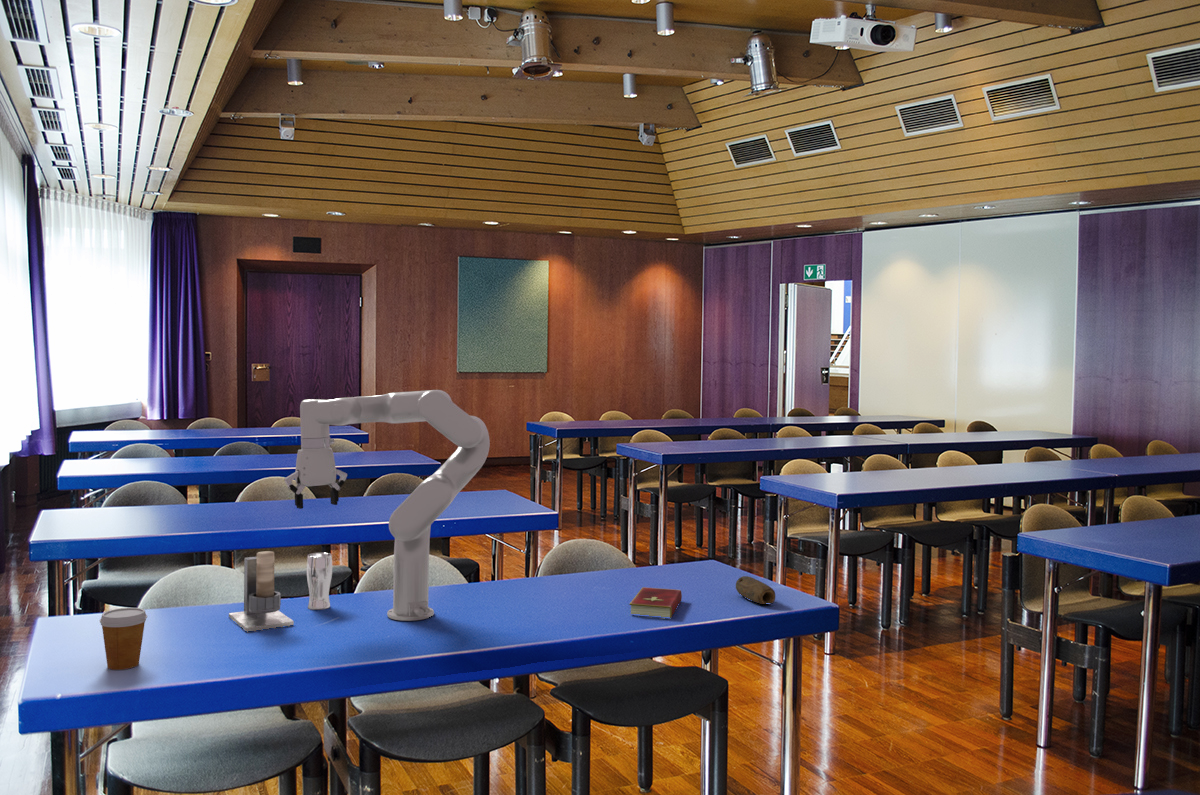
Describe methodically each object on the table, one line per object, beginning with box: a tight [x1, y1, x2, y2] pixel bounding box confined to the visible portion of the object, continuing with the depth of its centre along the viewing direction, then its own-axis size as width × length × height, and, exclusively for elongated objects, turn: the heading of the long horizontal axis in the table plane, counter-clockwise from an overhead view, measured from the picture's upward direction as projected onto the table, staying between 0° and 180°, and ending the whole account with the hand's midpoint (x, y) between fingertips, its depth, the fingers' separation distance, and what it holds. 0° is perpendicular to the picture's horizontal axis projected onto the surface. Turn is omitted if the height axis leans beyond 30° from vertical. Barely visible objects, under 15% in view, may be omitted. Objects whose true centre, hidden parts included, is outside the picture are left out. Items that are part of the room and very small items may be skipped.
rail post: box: [256, 550, 275, 597], centre depth 238 cm, size 4×4×14 cm
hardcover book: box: [628, 586, 683, 619], centre depth 263 cm, size 12×21×4 cm, turn 167°
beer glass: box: [306, 552, 333, 611], centre depth 257 cm, size 7×7×15 cm
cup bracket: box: [228, 555, 295, 633], centre depth 241 cm, size 17×12×16 cm
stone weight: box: [735, 575, 776, 605], centre depth 274 cm, size 15×7×7 cm, turn 26°
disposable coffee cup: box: [99, 607, 148, 671], centre depth 204 cm, size 10×10×12 cm
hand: (317, 506), depth 249 cm, fingers open, 9 cm apart
